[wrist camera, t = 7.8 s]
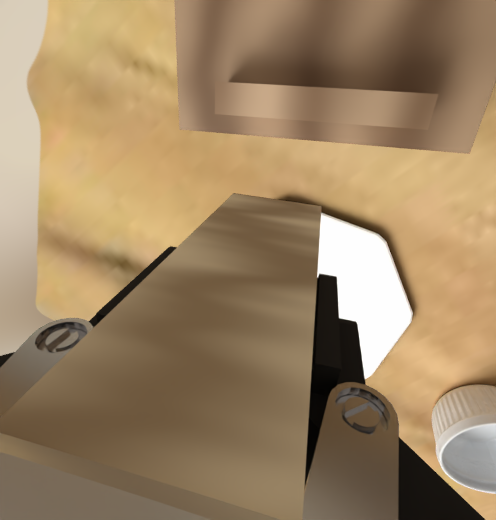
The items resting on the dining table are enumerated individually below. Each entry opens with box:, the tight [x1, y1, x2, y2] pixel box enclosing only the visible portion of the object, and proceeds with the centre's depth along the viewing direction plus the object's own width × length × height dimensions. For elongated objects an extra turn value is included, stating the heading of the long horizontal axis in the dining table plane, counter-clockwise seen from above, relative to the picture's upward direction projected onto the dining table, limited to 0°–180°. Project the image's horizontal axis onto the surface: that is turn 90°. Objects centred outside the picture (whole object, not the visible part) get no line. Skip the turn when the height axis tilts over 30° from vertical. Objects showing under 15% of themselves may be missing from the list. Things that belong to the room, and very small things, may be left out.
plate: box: [317, 212, 413, 379], centre depth 42 cm, size 28×28×2 cm
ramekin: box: [432, 384, 496, 494], centre depth 41 cm, size 13×13×7 cm
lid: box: [175, 0, 496, 154], centre depth 20 cm, size 22×16×4 cm
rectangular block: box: [0, 193, 321, 520], centre depth 9 cm, size 4×4×14 cm
